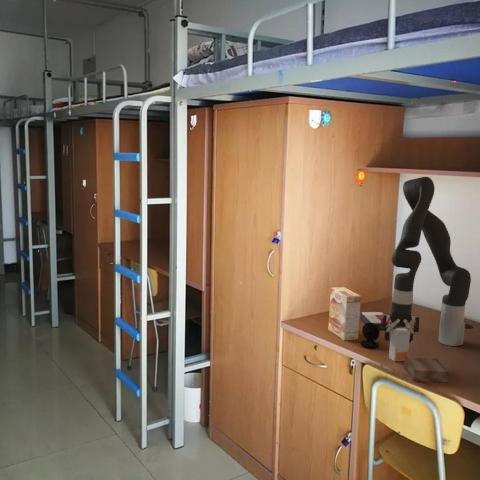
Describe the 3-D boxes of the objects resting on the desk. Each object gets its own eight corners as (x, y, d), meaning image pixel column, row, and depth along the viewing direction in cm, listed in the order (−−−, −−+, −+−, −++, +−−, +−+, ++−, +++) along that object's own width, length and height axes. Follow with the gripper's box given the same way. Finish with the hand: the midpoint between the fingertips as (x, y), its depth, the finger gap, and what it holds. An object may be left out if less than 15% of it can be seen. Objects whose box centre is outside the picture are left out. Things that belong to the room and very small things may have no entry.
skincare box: (394, 362, 211) (396, 332, 209) (388, 357, 215) (390, 328, 213) (408, 361, 212) (410, 331, 210) (402, 356, 216) (404, 327, 214)
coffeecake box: (327, 329, 246) (330, 287, 243) (341, 328, 248) (344, 286, 245) (343, 340, 232) (346, 296, 229) (358, 339, 234) (361, 295, 231)
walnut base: (435, 368, 205) (437, 358, 205) (447, 382, 194) (448, 371, 193) (403, 367, 206) (404, 357, 205) (413, 380, 194) (414, 370, 193)
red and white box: (371, 322, 248) (360, 311, 262) (370, 331, 249) (359, 319, 263) (395, 322, 249) (382, 310, 264) (394, 331, 250) (381, 319, 265)
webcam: (382, 346, 227) (384, 323, 225) (372, 350, 222) (374, 327, 220) (366, 341, 233) (368, 318, 231) (356, 345, 228) (358, 322, 226)
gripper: (418, 299, 213) (413, 339, 216) (381, 297, 214) (377, 336, 216) (423, 304, 206) (419, 345, 209) (385, 302, 206) (381, 343, 209)
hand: (398, 341), depth 213 cm, fingers open, 8 cm apart
